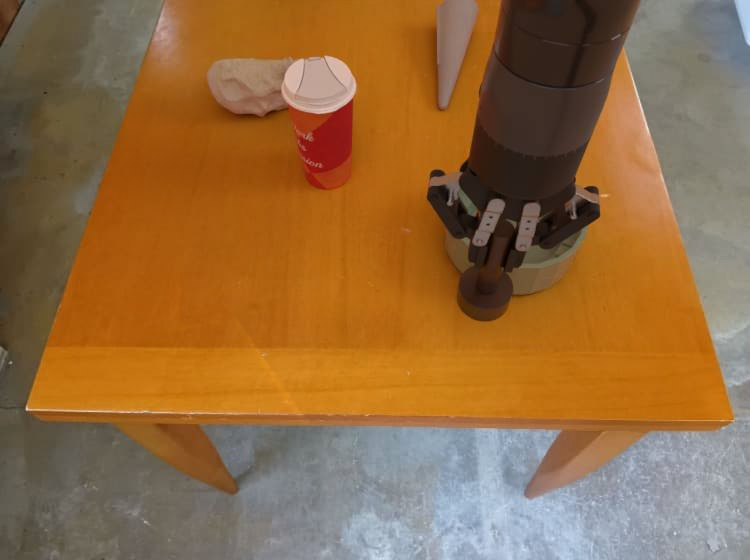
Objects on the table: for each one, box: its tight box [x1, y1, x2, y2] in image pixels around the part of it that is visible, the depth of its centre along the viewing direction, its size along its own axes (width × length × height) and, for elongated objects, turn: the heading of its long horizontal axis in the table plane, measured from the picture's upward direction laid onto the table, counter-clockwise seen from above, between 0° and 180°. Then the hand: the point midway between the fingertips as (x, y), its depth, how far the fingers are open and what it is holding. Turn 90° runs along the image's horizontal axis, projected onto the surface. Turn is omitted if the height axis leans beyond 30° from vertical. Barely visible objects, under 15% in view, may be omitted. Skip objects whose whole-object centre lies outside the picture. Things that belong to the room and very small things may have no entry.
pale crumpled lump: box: [206, 56, 309, 118], centre depth 78 cm, size 15×7×15 cm
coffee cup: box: [281, 55, 357, 191], centre depth 68 cm, size 8×8×15 cm
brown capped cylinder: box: [455, 220, 515, 323], centre depth 52 cm, size 5×5×11 cm
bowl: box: [443, 189, 589, 295], centre depth 65 cm, size 15×15×6 cm
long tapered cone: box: [436, 0, 480, 111], centre depth 83 cm, size 6×6×19 cm
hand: (493, 262), depth 51 cm, fingers closed on brown capped cylinder
